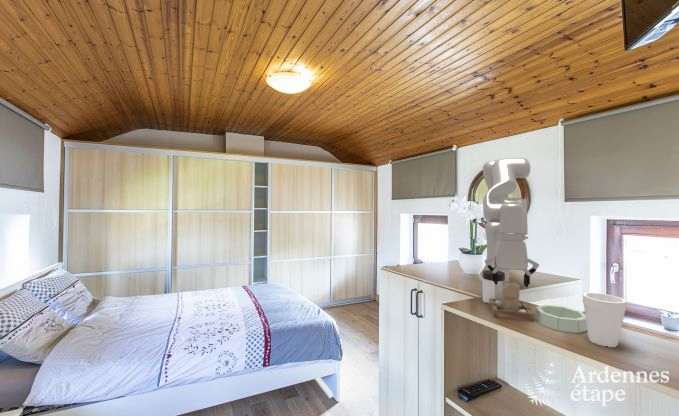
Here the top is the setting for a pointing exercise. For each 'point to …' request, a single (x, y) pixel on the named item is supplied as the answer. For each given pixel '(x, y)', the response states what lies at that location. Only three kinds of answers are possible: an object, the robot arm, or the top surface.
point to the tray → (512, 312)
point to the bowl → (561, 318)
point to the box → (510, 296)
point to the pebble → (498, 303)
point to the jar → (492, 286)
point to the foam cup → (604, 318)
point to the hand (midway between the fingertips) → (510, 284)
